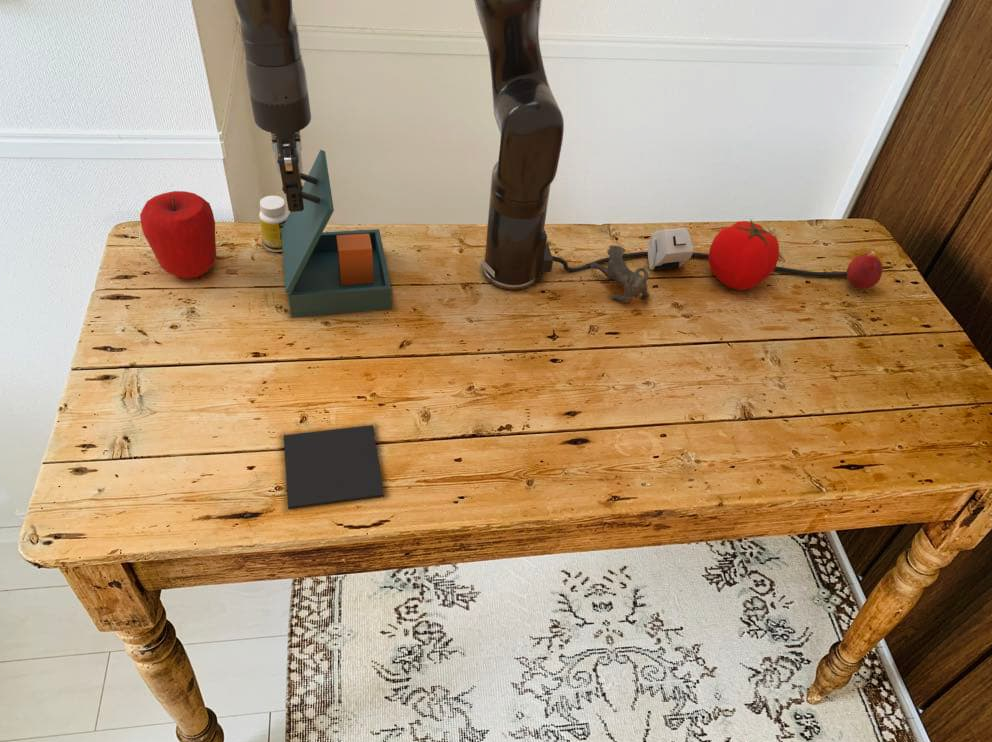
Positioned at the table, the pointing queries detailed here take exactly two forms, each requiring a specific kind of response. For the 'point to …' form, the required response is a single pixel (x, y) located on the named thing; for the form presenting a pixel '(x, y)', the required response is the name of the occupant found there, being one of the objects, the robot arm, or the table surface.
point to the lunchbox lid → (306, 221)
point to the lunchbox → (323, 286)
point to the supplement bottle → (272, 221)
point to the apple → (180, 232)
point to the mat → (331, 466)
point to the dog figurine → (624, 275)
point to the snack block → (355, 259)
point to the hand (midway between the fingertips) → (295, 196)
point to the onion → (864, 271)
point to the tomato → (743, 255)
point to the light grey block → (669, 248)
